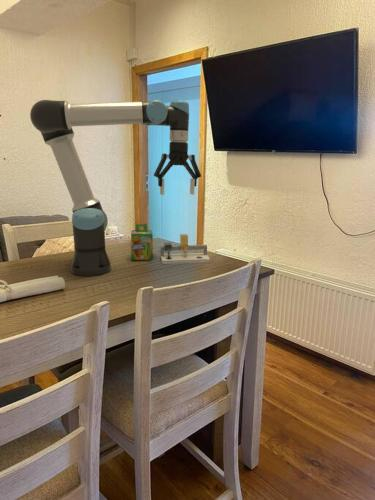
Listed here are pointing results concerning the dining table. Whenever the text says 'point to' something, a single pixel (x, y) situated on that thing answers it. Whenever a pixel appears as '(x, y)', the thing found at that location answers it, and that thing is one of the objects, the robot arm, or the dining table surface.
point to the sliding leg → (184, 243)
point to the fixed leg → (168, 248)
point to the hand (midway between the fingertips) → (177, 194)
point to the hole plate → (189, 257)
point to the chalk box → (141, 243)
